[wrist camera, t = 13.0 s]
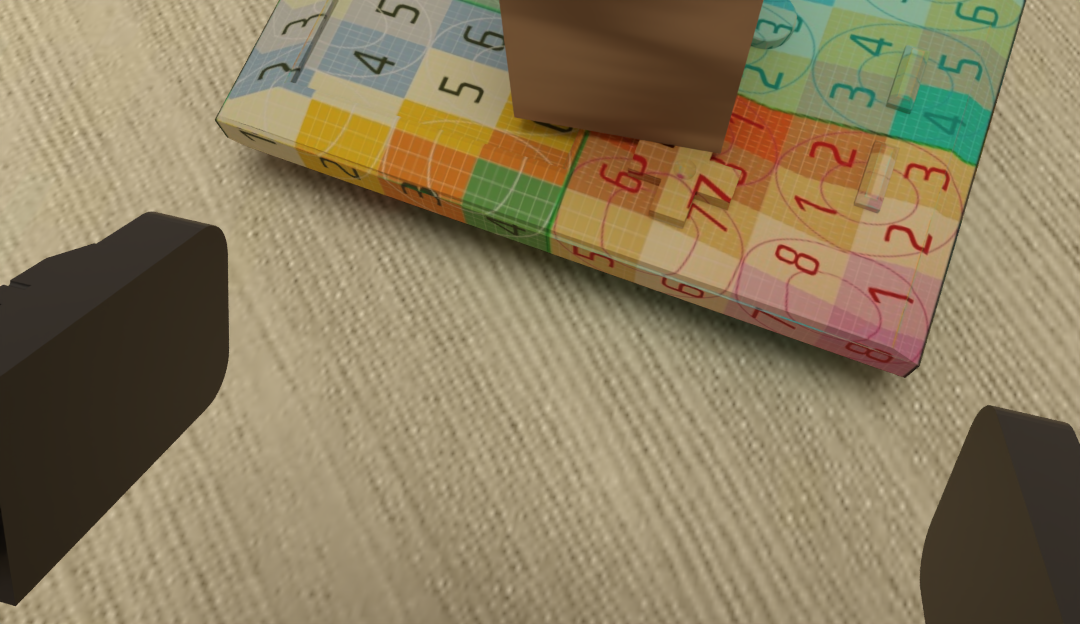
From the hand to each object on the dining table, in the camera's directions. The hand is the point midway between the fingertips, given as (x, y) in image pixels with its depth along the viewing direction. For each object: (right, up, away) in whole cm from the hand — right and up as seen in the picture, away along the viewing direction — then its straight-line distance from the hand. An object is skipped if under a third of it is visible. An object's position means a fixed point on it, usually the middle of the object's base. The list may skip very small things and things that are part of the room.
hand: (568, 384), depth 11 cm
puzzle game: (+2, +7, +21) cm, 23 cm away
